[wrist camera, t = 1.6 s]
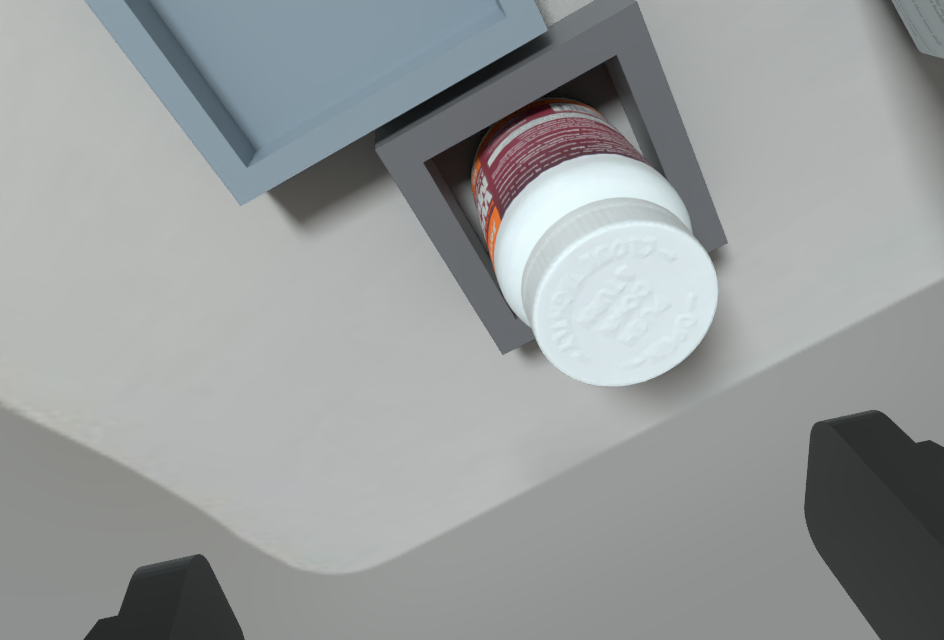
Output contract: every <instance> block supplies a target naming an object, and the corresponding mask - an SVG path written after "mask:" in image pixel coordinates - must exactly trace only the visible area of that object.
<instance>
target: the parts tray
mask: <svg viewBox="0 0 944 640" xmlns="http://www.w3.org/2000/svg"><path fill="white" fill-rule="evenodd" d="M85 2H86V3H87V4H88V6H89V7H90V8H91V10H92V11H93V12H94V14H95V15H96V16H97V18H98V19H99V20H100V22H101V23H102V24H103V25H104V27H105V28H106V29H107V31H108V32H109V33H110V35H111V36H112V37H113V39H114V40H115V41H116V43H117V44H118V45H119V47H120V48H121V49H122V50H123V52H124V53H125V54H126V56H127V57H128V58H129V60H130V61H131V62H132V64H133V65H134V66H135V68H136V69H137V70H138V72H139V73H140V74H141V75H142V77H143V78H144V79H145V81H146V82H147V83H148V85H149V86H150V87H151V89H152V90H153V91H154V93H155V94H156V95H157V97H158V98H159V99H160V100H161V102H162V103H163V104H164V106H165V107H166V108H167V110H168V111H169V112H170V114H171V115H172V116H173V118H174V119H175V120H176V122H177V123H178V124H179V125H180V127H181V128H182V129H183V131H184V132H185V133H186V135H187V136H188V137H189V139H190V140H191V141H192V143H193V144H194V145H195V147H196V148H197V149H198V150H199V152H200V153H201V154H202V156H203V157H204V158H205V160H206V161H207V162H208V164H209V165H210V166H211V168H212V169H213V170H214V172H215V173H216V174H217V175H218V177H219V178H220V179H221V181H222V182H223V183H224V185H225V186H226V187H227V189H228V190H229V191H230V193H231V194H232V195H233V197H234V198H235V199H236V200H237V202H238V203H239V204H240V206H242V205H244V204H245V203H247V202H249V201H251V200H252V199H254V198H256V197H258V196H259V195H261V194H263V193H265V192H266V191H268V190H270V189H272V188H273V187H275V186H277V185H279V184H280V183H282V182H284V181H286V180H287V179H289V178H291V177H293V176H294V175H296V174H298V173H300V172H301V171H303V170H305V169H307V168H308V167H310V166H312V165H314V164H315V163H317V162H319V161H321V160H322V159H324V158H326V157H328V156H329V155H331V154H333V153H335V152H336V151H338V150H340V149H342V148H343V147H345V146H347V145H349V144H350V143H352V142H354V141H356V140H357V139H359V138H361V137H363V136H364V135H366V134H368V133H370V132H371V131H373V130H375V129H377V128H378V127H380V126H382V125H384V124H385V123H387V122H389V121H391V120H392V119H394V118H396V117H398V116H399V115H401V114H403V113H405V112H406V111H408V110H410V109H412V108H413V107H415V106H417V105H419V104H420V103H422V102H424V101H426V100H427V99H429V98H431V97H433V96H434V95H436V94H438V93H440V92H441V91H443V90H445V89H447V88H448V87H450V86H452V85H454V84H455V83H457V82H459V81H461V80H462V79H464V78H466V77H468V76H469V75H471V74H473V73H475V72H476V71H478V70H480V69H482V68H483V67H485V66H487V65H489V64H490V63H492V62H494V61H495V60H497V59H499V58H501V57H502V56H504V55H506V54H508V53H509V52H511V51H513V50H515V49H516V48H518V47H520V46H522V45H523V44H525V43H527V42H529V41H530V40H532V39H534V38H536V37H537V36H539V35H541V34H543V33H544V32H546V31H548V29H547V27H546V24H545V22H544V20H543V18H542V15H541V13H540V11H539V9H538V7H537V4H536V2H535V0H85Z"/></svg>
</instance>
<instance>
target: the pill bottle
mask: <svg viewBox="0 0 944 640" xmlns="http://www.w3.org/2000/svg"><path fill="white" fill-rule="evenodd" d="M471 184H472V192H473V197H474V202H475V206H476V209H477V213H478V216H479V220H480V224H481V227H482V231H483V233H484V238H485V241H486V244H487V247H488V251H489V254H490V258H491V261H492V264H493V268H494V271H495V274H496V277H497V280H498V283H499V286H500V288H501V291H502V293H503V296H504V298H505V300H506V301H507V303H508V305H509V306H510V308H511V309H512V310H513V311H514V313H515V314H516V315H517V316H518V317H519V318H520V319H521V320H522V321H523V322H524V323H525V324H526V325H528V326H529V327H530V328H532V331H533V333H534V336H535V338H536V341H537V343H538V345H539V347H540V349H541V351H542V352H543V354H544V355H545V357H546V358H547V359H548V360H549V361H550V362H551V364H552V365H553V366H554V367H556V368H557V369H558V370H559V371H561V372H562V373H564V374H565V375H567V376H569V377H570V378H573V379H575V380H578V381H580V382H583V383H587V384H590V385H597V386H606V387H615V386H628V385H633V384H637V383H641V382H645V381H647V380H649V379H653V378H655V377H657V376H659V375H661V374H663V373H665V372H667V371H669V370H670V369H672V368H673V367H675V366H676V365H678V364H679V363H681V362H682V361H683V360H684V359H686V358H687V357H688V356H689V355H690V354H691V353H692V352H693V351H694V349H695V348H696V347H697V346H698V345H699V343H700V342H701V341H702V339H703V338H704V336H705V335H706V333H707V331H708V329H709V327H710V325H711V323H712V321H713V318H714V315H715V312H716V308H717V304H718V294H719V287H718V279H717V274H716V270H715V267H714V265H713V263H712V261H711V258H710V256H709V255H708V253H707V251H706V250H705V249H704V247H703V246H702V245H701V244H700V242H699V241H698V240H697V239H696V238H695V237H694V235H693V232H692V225H691V221H690V217H689V214H688V211H687V209H686V207H685V205H684V203H683V201H682V199H681V198H680V196H679V194H678V193H677V192H676V190H675V189H674V188H673V187H672V186H671V185H670V184H669V182H668V181H667V179H666V178H665V177H664V176H662V175H661V174H660V173H659V172H658V171H657V170H656V169H655V168H654V167H653V166H652V165H651V164H650V163H649V162H648V161H647V160H646V159H645V158H644V157H643V156H642V155H641V154H640V153H639V152H638V151H637V150H636V149H635V148H634V147H633V146H632V145H631V144H630V143H629V142H628V141H627V140H626V139H625V137H624V136H623V135H622V134H621V133H620V132H619V131H618V130H617V129H616V128H615V127H614V126H613V125H612V124H611V123H610V122H609V121H608V120H607V119H606V118H605V117H604V116H603V115H602V114H601V113H599V112H598V111H597V110H595V109H594V108H592V107H590V106H588V105H586V104H584V103H582V102H580V101H576V100H573V99H568V98H560V97H549V98H541V99H537V100H534V101H533V102H531V103H529V104H527V105H525V106H524V107H522V108H520V109H518V110H516V111H515V112H513V113H511V114H509V115H507V116H506V117H504V118H502V119H500V120H498V121H497V122H495V123H494V124H493V125H492V126H491V127H490V128H489V129H488V131H487V132H486V134H485V135H484V136H483V138H482V140H481V142H480V144H479V146H478V148H477V150H476V153H475V156H474V160H473V166H472V173H471Z"/></svg>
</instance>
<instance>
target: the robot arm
mask: <svg viewBox="0 0 944 640" xmlns="http://www.w3.org/2000/svg"><path fill="white" fill-rule="evenodd" d="M804 510H805V518H806V523H807V527H808V530H809V533H810V536H811V538H812V541H813V543H814V545H815V547H816V549H817V551H818V552H819V554H820V555H821V557H822V558H823V560H824V561H825V563H826V564H827V565H828V567H829V568H830V570H831V571H832V572H833V574H834V575H835V577H836V578H837V579H838V581H839V582H840V584H841V585H842V586H843V588H844V589H845V590H846V592H847V593H848V595H849V596H850V598H851V599H852V600H853V602H854V603H855V604H856V606H857V607H858V609H859V610H860V611H861V613H862V614H863V616H864V617H865V618H866V620H867V621H868V623H869V624H870V625H871V627H872V628H873V630H874V631H875V632H876V634H877V635H878V637H879V638H880V639H881V640H944V447H942V446H940V445H938V444H937V443H934V442H932V441H931V440H928V441H923V442H918V443H915V442H914V441H913V440H912V439H911V438H910V437H909V436H908V435H907V434H905V433H904V432H903V431H902V430H901V429H900V428H899V427H898V426H897V425H896V424H895V423H894V422H893V421H892V420H891V419H890V418H889V417H888V416H886V415H885V414H884V413H882V412H880V411H876V410H870V411H865V412H861V413H856V414H852V415H847V416H842V417H838V418H833V419H828V420H824V421H820V422H817V423H815V424H814V426H813V427H812V430H811V434H810V444H809V456H808V469H807V480H806V492H805V506H804ZM84 640H245V639H244V636H243V632H242V630H241V627H240V625H239V623H238V621H237V619H236V617H235V615H234V613H233V611H232V609H231V607H230V605H229V603H228V601H227V599H226V597H225V595H224V593H223V590H222V589H221V586H220V584H219V582H218V580H217V578H216V576H215V574H214V572H213V570H212V568H211V566H210V564H209V562H208V561H207V559H206V558H205V557H204V556H203V555H200V554H197V555H192V556H187V557H183V558H179V559H174V560H169V561H165V562H160V563H155V564H151V565H146V566H141V567H139V568H138V569H137V570H136V571H135V572H134V574H133V576H132V578H131V580H130V583H129V586H128V588H127V592H126V594H125V597H124V600H123V603H122V606H121V609H120V611H119V614H118V616H114V617H109V618H104V619H100V620H98V622H97V623H96V624H95V625H94V627H93V628H92V629H91V631H90V632H89V633H88V635H87V636H86V637H85V638H84Z"/></svg>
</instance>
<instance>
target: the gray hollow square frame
mask: <svg viewBox="0 0 944 640" xmlns="http://www.w3.org/2000/svg"><path fill="white" fill-rule="evenodd" d="M547 29H548V31H546V32H544V33H543V34H541V35H539V36H537V37H536V38H534V39H532V40H530V41H529V42H527V43H525V44H523V45H522V46H520V47H518V48H516V49H515V50H513V51H511V52H509V53H508V54H506V55H504V56H502V57H501V58H499V59H497V60H495V61H494V62H492V63H490V64H489V65H487V66H485V67H483V68H482V69H480V70H478V71H476V72H475V73H473V74H471V75H469V76H468V77H466V78H464V79H462V80H461V81H459V82H457V83H455V84H454V85H452V86H450V87H448V88H447V89H445V90H443V91H441V92H440V93H438V94H436V95H434V96H433V97H431V98H429V99H427V100H426V101H424V102H422V103H420V104H419V105H417V106H415V107H413V108H412V109H410V110H408V111H406V112H405V113H403V114H401V115H399V116H398V117H396V118H394V119H392V120H391V121H389V122H387V123H385V124H384V125H382V126H380V127H378V128H377V129H376V140H375V151H376V152H377V154H378V156H379V157H380V159H381V160H382V162H383V164H384V165H385V167H386V168H387V170H388V172H389V173H390V175H391V176H392V178H393V180H394V181H395V183H396V184H397V186H398V188H399V189H400V191H401V192H402V194H403V196H404V197H405V199H406V200H407V202H408V204H409V205H410V207H411V208H412V210H413V212H414V213H415V215H416V217H417V218H418V220H419V221H420V223H421V225H422V226H423V228H424V229H425V231H426V233H427V234H428V236H429V237H430V239H431V241H432V242H433V244H434V245H435V247H436V249H437V250H438V252H439V253H440V255H441V257H442V258H443V260H444V261H445V263H446V265H447V266H448V268H449V269H450V271H451V273H452V274H453V276H454V278H455V279H456V281H457V282H458V284H459V286H460V287H461V289H462V290H463V292H464V294H465V295H466V297H467V298H468V300H469V302H470V303H471V305H472V306H473V308H474V310H475V311H476V313H477V314H478V316H479V318H480V319H481V321H482V322H483V324H484V326H485V327H486V329H487V330H488V332H489V334H490V335H491V337H492V339H493V340H494V342H495V343H496V345H497V347H498V348H499V350H500V351H501V353H502V355H504V354H506V353H508V352H510V351H512V350H514V349H516V348H518V347H520V346H522V345H524V344H526V343H528V342H530V341H532V340H534V339H536V338H535V336H534V333H533V331H532V328H530V327H529V326H528V325H526V324H525V323H524V322H523V321H522V320H521V319H520V318H519V317H518V316H517V315H516V314H515V313H514V311H513V310H512V309H511V308H510V306H509V305H508V303H507V301H506V300H505V298H504V296H503V293H502V291H501V288H500V286H499V283H498V280H497V277H496V274H495V271H494V268H493V264H492V261H491V259H490V257H489V256H488V254H487V252H486V250H485V249H484V247H483V245H482V244H481V242H480V240H479V238H478V237H477V235H476V233H475V232H474V230H473V228H472V226H471V225H470V223H469V221H468V220H467V218H466V216H465V214H464V213H463V211H462V209H461V208H460V206H459V204H458V202H457V201H456V199H455V197H454V196H453V194H452V192H451V190H450V189H449V187H448V185H447V184H446V182H445V180H444V178H443V177H442V175H441V173H440V172H439V170H438V168H437V166H436V165H435V163H434V161H433V160H432V157H434V156H435V155H437V154H439V153H441V152H443V151H444V150H446V149H448V148H450V147H452V146H453V145H455V144H457V143H459V142H461V141H462V140H464V139H466V138H468V137H470V136H471V135H473V134H475V133H477V132H479V131H480V130H482V129H484V128H486V127H488V126H489V125H491V124H493V123H495V122H497V121H498V120H500V119H502V118H504V117H506V116H507V115H509V114H511V113H513V112H515V111H516V110H518V109H520V108H522V107H524V106H525V105H527V104H529V103H531V102H533V101H534V100H536V99H538V98H540V97H542V96H543V95H545V94H547V93H549V92H550V91H552V90H554V89H556V88H558V87H559V86H561V85H563V84H565V83H567V82H568V81H570V80H572V79H574V78H576V77H577V76H579V75H581V74H583V73H585V72H586V71H588V70H590V69H592V68H594V67H595V66H597V65H599V64H601V63H603V62H605V64H606V67H607V69H608V72H609V74H610V76H611V79H612V81H613V84H614V86H615V88H616V91H617V93H618V96H619V98H620V100H621V103H622V105H623V108H624V110H625V112H626V115H627V117H628V120H629V122H630V124H631V127H632V129H633V132H634V134H635V136H636V139H637V141H638V144H639V146H640V148H641V151H642V153H643V156H644V158H645V159H646V160H647V161H648V162H649V163H650V164H651V165H652V166H653V167H654V168H655V169H656V170H657V171H658V172H659V173H660V174H661V175H662V176H664V177H665V178H666V179H667V181H668V182H669V184H670V185H671V186H672V187H673V188H674V189H675V190H676V192H677V193H678V194H679V196H680V198H681V199H682V201H683V203H684V205H685V207H686V209H687V211H688V214H689V217H690V221H691V225H692V232H693V235H694V237H695V238H696V239H697V240H698V241H699V242H700V244H701V245H702V246H703V247H704V249H705V250H706V251H707V253H708V252H711V251H713V250H715V249H717V248H719V247H721V246H723V245H725V244H727V243H728V242H727V239H726V237H725V234H724V231H723V229H722V226H721V223H720V221H719V218H718V215H717V213H716V210H715V207H714V205H713V202H712V199H711V197H710V194H709V191H708V189H707V186H706V184H705V181H704V178H703V176H702V173H701V170H700V168H699V165H698V162H697V160H696V157H695V154H694V152H693V149H692V146H691V144H690V141H689V138H688V136H687V133H686V130H685V128H684V125H683V122H682V120H681V117H680V115H679V112H678V109H677V107H676V104H675V101H674V99H673V96H672V93H671V91H670V88H669V85H668V83H667V80H666V77H665V75H664V72H663V69H662V67H661V64H660V61H659V59H658V56H657V53H656V51H655V48H654V46H653V43H652V40H651V38H650V35H649V32H648V30H647V27H646V24H645V22H644V19H643V16H642V14H641V11H640V8H639V6H638V3H637V1H635V0H595V1H593V2H592V3H590V4H588V5H586V6H585V7H583V8H581V9H579V10H578V11H576V12H574V13H572V14H571V15H569V16H567V17H565V18H564V19H562V20H560V21H558V22H557V23H555V24H553V25H551V26H550V27H548V28H547Z"/></svg>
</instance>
